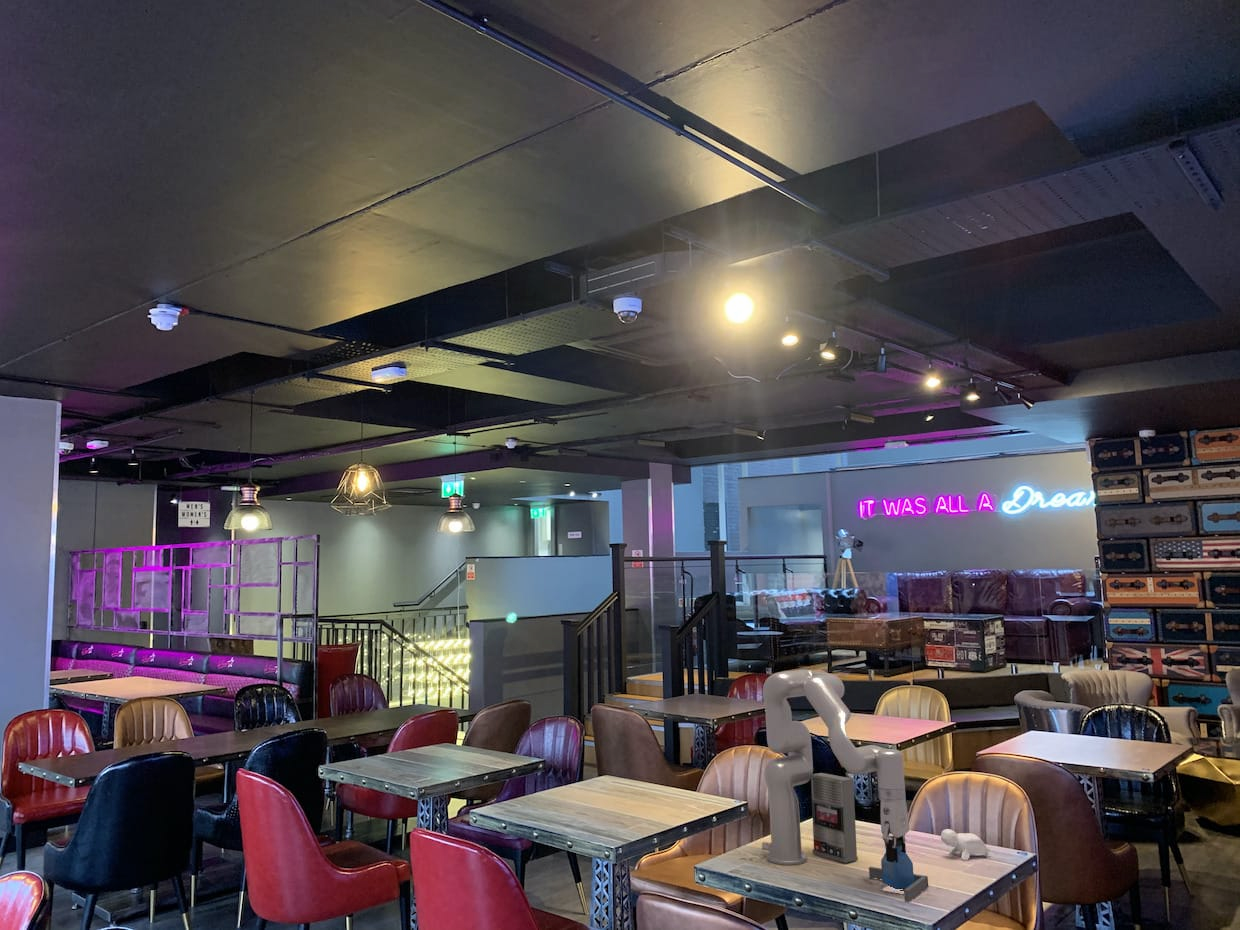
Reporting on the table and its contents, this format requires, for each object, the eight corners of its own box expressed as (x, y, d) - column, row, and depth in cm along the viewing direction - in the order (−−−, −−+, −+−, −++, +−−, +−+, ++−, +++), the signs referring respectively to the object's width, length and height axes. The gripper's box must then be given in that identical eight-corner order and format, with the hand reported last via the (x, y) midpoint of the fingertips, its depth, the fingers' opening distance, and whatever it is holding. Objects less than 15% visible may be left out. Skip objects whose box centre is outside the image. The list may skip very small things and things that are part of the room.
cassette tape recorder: (811, 854, 287) (808, 774, 291) (824, 851, 290) (821, 772, 294) (844, 863, 276) (841, 780, 280) (857, 860, 279) (853, 778, 283)
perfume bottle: (914, 886, 250) (911, 841, 251) (896, 889, 247) (893, 844, 249) (899, 879, 255) (896, 836, 257) (882, 883, 253) (879, 839, 255)
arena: (850, 891, 251) (849, 879, 251) (871, 877, 263) (870, 866, 263) (909, 902, 240) (908, 890, 241) (928, 887, 252) (927, 876, 252)
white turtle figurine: (972, 861, 285) (931, 847, 283) (978, 835, 287) (938, 820, 285) (987, 869, 277) (946, 854, 275) (994, 841, 278) (953, 827, 276)
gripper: (893, 801, 246) (897, 869, 243) (915, 789, 259) (920, 854, 257) (867, 797, 251) (872, 864, 248) (890, 786, 264) (895, 850, 261)
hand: (896, 858), depth 252 cm, fingers closed on perfume bottle, 5 cm apart
